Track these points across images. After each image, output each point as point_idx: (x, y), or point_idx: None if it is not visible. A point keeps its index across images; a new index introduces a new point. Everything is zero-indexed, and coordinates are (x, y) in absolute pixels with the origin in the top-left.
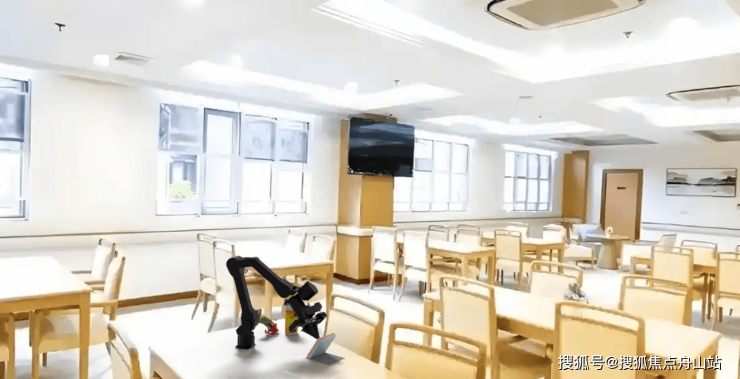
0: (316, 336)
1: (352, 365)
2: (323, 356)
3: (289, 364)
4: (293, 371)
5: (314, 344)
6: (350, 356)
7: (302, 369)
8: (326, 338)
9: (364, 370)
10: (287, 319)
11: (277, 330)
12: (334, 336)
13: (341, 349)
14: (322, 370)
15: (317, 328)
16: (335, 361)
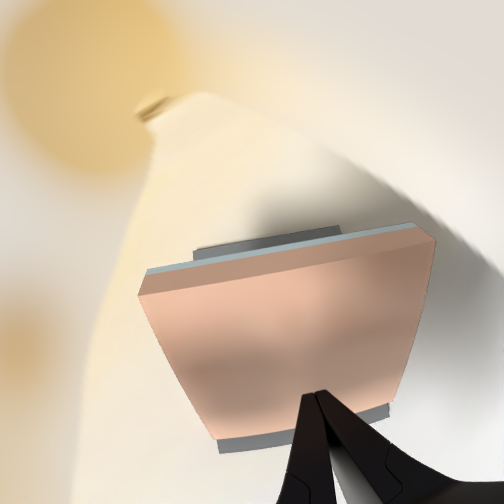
0: (345, 413)
1: (235, 173)
2: None
3: (487, 375)
4: (499, 282)
5: (420, 309)
6: (142, 266)
7: (466, 278)
8: (318, 243)
9: (239, 120)
10: None
11: None
12: (175, 270)
13: (92, 387)
14: (394, 210)
15: (291, 493)
16: (275, 245)
